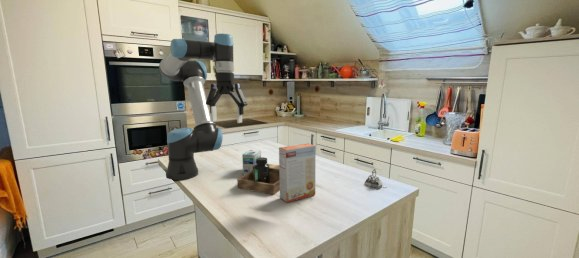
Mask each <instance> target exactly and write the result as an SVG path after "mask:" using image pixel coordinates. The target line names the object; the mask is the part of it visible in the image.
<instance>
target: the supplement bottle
mask: <svg viewBox="0 0 579 258" xmlns="http://www.w3.org/2000/svg"><path fill="white" fill-rule="evenodd" d="M256 163H257V164H256V165H255V166H254V181H256V182H262V183H268V184H270V166H269V165H268V164H269V163H268V158H267V157H263V156H261V157H260V158H257V159H256Z"/></svg>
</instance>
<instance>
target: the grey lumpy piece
mask: <svg viewBox="0 0 579 258" xmlns="http://www.w3.org/2000/svg"><path fill="white" fill-rule="evenodd" d="M364 185H366V186H369V187H372V188H376V189H380V188H384V189H385V188H387V186H386V185H384V186H383V182H382V180H381V179H380V178H379V176H377V170H376V168H374V169H372V171H371V174H370V175H369V176H368V177H367V178H366V180H365V181H364Z"/></svg>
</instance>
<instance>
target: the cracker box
mask: <svg viewBox="0 0 579 258" xmlns="http://www.w3.org/2000/svg"><path fill="white" fill-rule="evenodd" d="M278 163H279V164H278V165H279V177H280V190H279V198H280V199H281V200H282V201H284V202H285V203H290V202H294V201H298V200H301V199H302V200H303V199H305V198H309V197H312V196H316V145H314V144H311V143H302V144H294V145H289V146H288V145H287V146H282V147H281V146H280V147H278Z"/></svg>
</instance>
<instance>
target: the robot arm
mask: <svg viewBox="0 0 579 258" xmlns="http://www.w3.org/2000/svg"><path fill="white" fill-rule="evenodd" d="M190 59H192V60H190ZM199 60H209V61H214V62H215V71H216V73H215V81H216V83H211V84H210V90H209V92H208V96H207V95H206V92H205V91H206V90H205V85H204V84H205V83H206V81H207V80H208V79H207V78H208V74H207V73H208V71H207V67H206V65H205V64H204V62H202V61H199ZM234 67H235V66H234V40H233V35H231V34H229V33H216V34H215V35H214V39H213V41H212V42H211V41H201V40H194V39H193V40H192V39H184V38H172V39H171V41H170V53H169V54H168V55H167V57H164V58H163V59H161V61H160V62H159V65H158V69H159V72H160V74H161V75H162V76H163V77H165V79H167V80H170V81H173V82H183V84H182V85H184V87H186V88H187V91H188V97H189V101H190V105H191V110H192V114H193V118H194V123H195V126H194V127H193V128H192V127H180V128H177V129H176V128H175V129H172V130H170V131H169V132H168V133H167V136H166V137H167V138H166V139H167V140H166V143H167V153H168V165H167V169H166V170H165V178H166V179H169V180H173V181H174V180H175V181H177V180H188V179H191V178H194V177H196V176H197V175H199V168H198V167H197V164H196V160H195V157H194V156H195V155H194V154H196V153H203V152H204V153H205V152H213V151H217V150H219V149H220V148H221V147H222V145H223V131H222V129H221V127H217V125H216V123H215V122H217V120H218V115H217V113H218V112H217V111H218V110H217V106H216V104H217V103H218V101H219V100H220V98H221V96H223V95H228V96H230V97H231V99H232V100H233V101H234V103H235V104H236V105H237V107H236V124H240V123H241V124H242V123H243V115H244V107H247V106H248V102H247V99H246V97H245V95H244V93H243V90H242V87H241V83H235V73H234V72H235V68H234Z"/></svg>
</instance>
